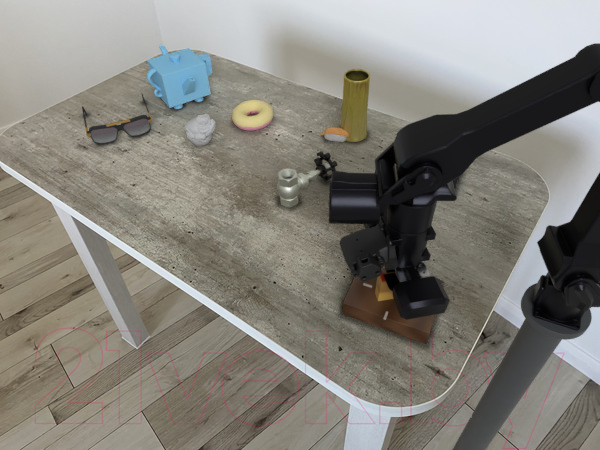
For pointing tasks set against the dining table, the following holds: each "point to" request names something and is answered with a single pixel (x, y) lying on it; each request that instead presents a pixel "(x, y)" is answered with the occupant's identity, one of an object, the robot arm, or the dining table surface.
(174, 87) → the teapot
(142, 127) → the sunglasses
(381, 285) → the lock knob
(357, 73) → the vase
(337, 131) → the sushi
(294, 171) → the valve
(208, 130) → the grey lumpy blob
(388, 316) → the panel
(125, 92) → the dining table surface
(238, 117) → the donut
